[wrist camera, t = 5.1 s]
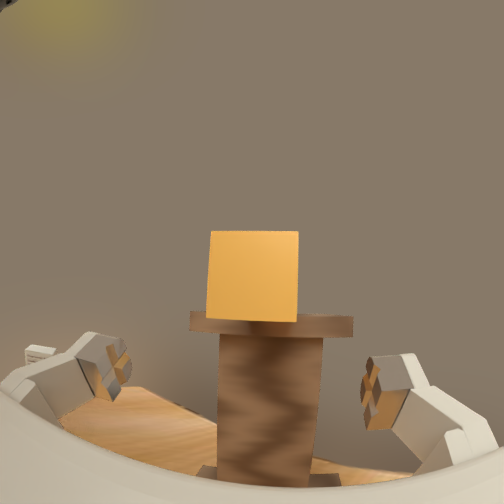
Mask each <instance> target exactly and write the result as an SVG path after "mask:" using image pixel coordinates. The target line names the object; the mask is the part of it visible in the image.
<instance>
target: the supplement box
mask: <svg viewBox="0 0 504 504" xmlns="http://www.w3.org/2000/svg"><path fill="white" fill-rule="evenodd" d="M55 355H57V349H56V348H51V347H44V346H38V345H30V346H29V347H28V348H27V349H25V362H26V366H27V365H30V364H32V363H35V362H38V361H41V360H43V359H46V358H49V357H52V356H55Z"/></svg>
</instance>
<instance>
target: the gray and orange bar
mask: <svg viewBox="0 0 504 504" xmlns="http://www.w3.org/2000/svg"><path fill="white" fill-rule="evenodd" d="M297 289H298V231H211V243H210V256H209V272H208V288H207V308H206V318H215V319H230V320H249V321H273V322H296V321H297Z"/></svg>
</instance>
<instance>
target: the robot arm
mask: <svg viewBox="0 0 504 504" xmlns="http://www.w3.org/2000/svg"><path fill="white" fill-rule="evenodd" d="M17 1H18V0H0V12H1V11H2V10H3V9H4V8H6V7H8V6H10V5H12V4H14V3H15V2H17ZM126 349H127V347H126V345H125V342H124V340H122V339H121V338H117V337H112V336H108V335H103V334H98V333H94V332H91V331H90V332H86V333H85V334H84V335H83V336H82V337H81V338H80V339H79V340H78V341H77V342H76V343H75V344H74V345H72V346H71V347H70V348H69V349H68V350H67V351H66V352H65V353H64V354H62V353H60V354H57V355H55V356H52V357H49V358H46V359H43V360H41V361H38V362H35V363H32V364H30V365H27V366H24V367H21V368H18V369H15V370H13V371H12V372H11V373H10V374H9V375H8V376H7V377H6V378H5V379H4V380H3V381H2V382H1V383H0V504H504V446H503V447H501V448H499V447H498V445H497V442H496V440H495V438H494V436H493V434H492V431H491V429H490V427H489V425H488V423H487V421H486V419H484V418H483V417H482V416H480V415H478V414H477V413H475V412H474V411H472V410H471V409H469V408H468V407H466V406H464V405H463V404H461V403H460V402H458V401H457V400H455V399H454V398H452V397H451V396H449V395H448V394H446V393H444V392H443V391H441V390H440V389H438V388H437V387H435V386H430V385H429V383H428V380H427V378H426V377H425V374H424V372H423V370H422V368H421V366H420V364H419V362H418V359H417V357H416V355H415V354H413V353H410V354H400V355H392V356H376V357H369V359H368V360H367V364H366V370H367V374H366V375H365V376H364V377H363V379H362V383H361V391H360V394H361V403H362V405H363V406H364V407H365V408H366V409H365V412H364V420H365V426H366V430H378V429H389V428H392V431H393V432H394V433H395V434H396V435H397V436H398V437H399V438H400V439H401V440H402V441H403V442H404V443H405V444H406V445H407V446H408V447H409V449H410V450H411V451H412V452H413V453H414V454H415V455H416V456H417V457H418V458H419V459H420V460H421V461H422V462H423V464H422V465H421V466H420V467H419V469H418V470H417V471H416V472H415V473H414V475H413V476H411V477H407V478H402V479H396V480H391V481H384V482H378V483H370V484H362V485H352V486H340V487H317V488H295V487H271V486H258V485H248V484H240V483H232V482H225V481H219V480H213V479H208V478H202V477H197V476H193V475H188V474H184V473H179V472H175V471H171V470H168V469H164V468H160V467H157V466H153V465H150V464H147V463H144V462H140V461H137V460H134V459H131V458H129V457H126V456H123V455H120V454H117V453H115V452H112V451H110V450H107V449H105V448H102V447H100V446H97V445H95V444H93V443H91V442H88V441H86V440H84V439H82V438H80V437H77V436H75V435H73V434H71V433H69V432H67V431H65V430H64V429H63V426H62V425H61V423H60V422H59V421H58V419H59V418H61V417H63V416H64V415H66V414H68V413H70V412H71V411H73V410H75V409H76V408H78V407H80V406H81V405H83V404H85V403H86V402H88V401H90V400H91V399H93V398H94V396H95V397H98V398H101V399H104V400H108V401H111V402H113V401H114V400H115V398H116V397H117V395H118V394H119V393H120V391H121V385H122V384H124V383H126V382H127V381H128V379H129V378H130V376H131V371H132V363H131V360H130V358H129V356H128V355H127V354H126V353H125V351H126Z"/></svg>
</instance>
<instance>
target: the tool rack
mask: <svg viewBox="0 0 504 504" xmlns="http://www.w3.org/2000/svg"><path fill="white" fill-rule="evenodd" d="M189 330H190V331H196V332H208V333H219V334H220V343H219V372H218V411H217V414H218V415H217V467H211V466H205V465H203V466H202V468H201V469H200V471H199V472H198V474H197V475H196V476H197V477H202V478H208V479H213V480H219V481H225V482H232V483H240V484H248V485H258V486H271V487H295V488H317V487H340V486H341V482H340V478H339V474H338V473H336V474H310V469H311V462H312V455H313V447H314V439H315V430H316V422H317V413H318V402H319V392H320V380H321V366H322V350H323V349H322V348H323V338H324V337H325V338H327V337H328V338H331V337H332V338H334V337H353V317H352V316H341V315H331V314H297V321H296V322H273V321H249V320H230V319H215V318H206V311H190V329H189Z"/></svg>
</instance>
